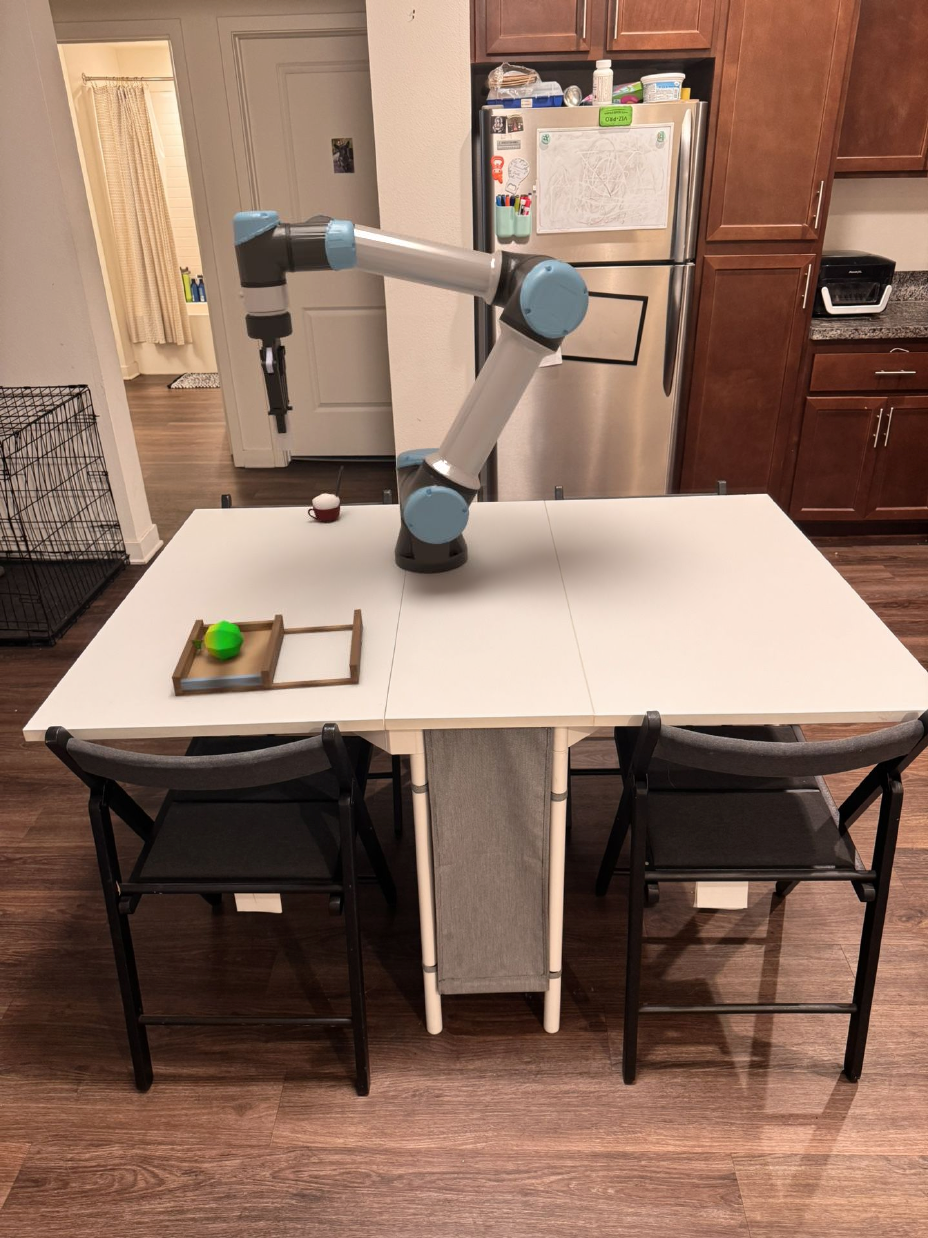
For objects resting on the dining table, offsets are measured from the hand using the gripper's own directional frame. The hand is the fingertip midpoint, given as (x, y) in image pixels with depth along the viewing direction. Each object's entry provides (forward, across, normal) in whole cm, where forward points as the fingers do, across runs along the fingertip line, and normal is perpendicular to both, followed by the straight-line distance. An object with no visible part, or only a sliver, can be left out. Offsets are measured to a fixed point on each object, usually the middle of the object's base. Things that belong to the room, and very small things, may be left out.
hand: (285, 449), depth 165 cm
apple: (+29, +23, -12) cm, 39 cm away
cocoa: (+30, -42, +2) cm, 51 cm away
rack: (+29, +24, -3) cm, 38 cm away
